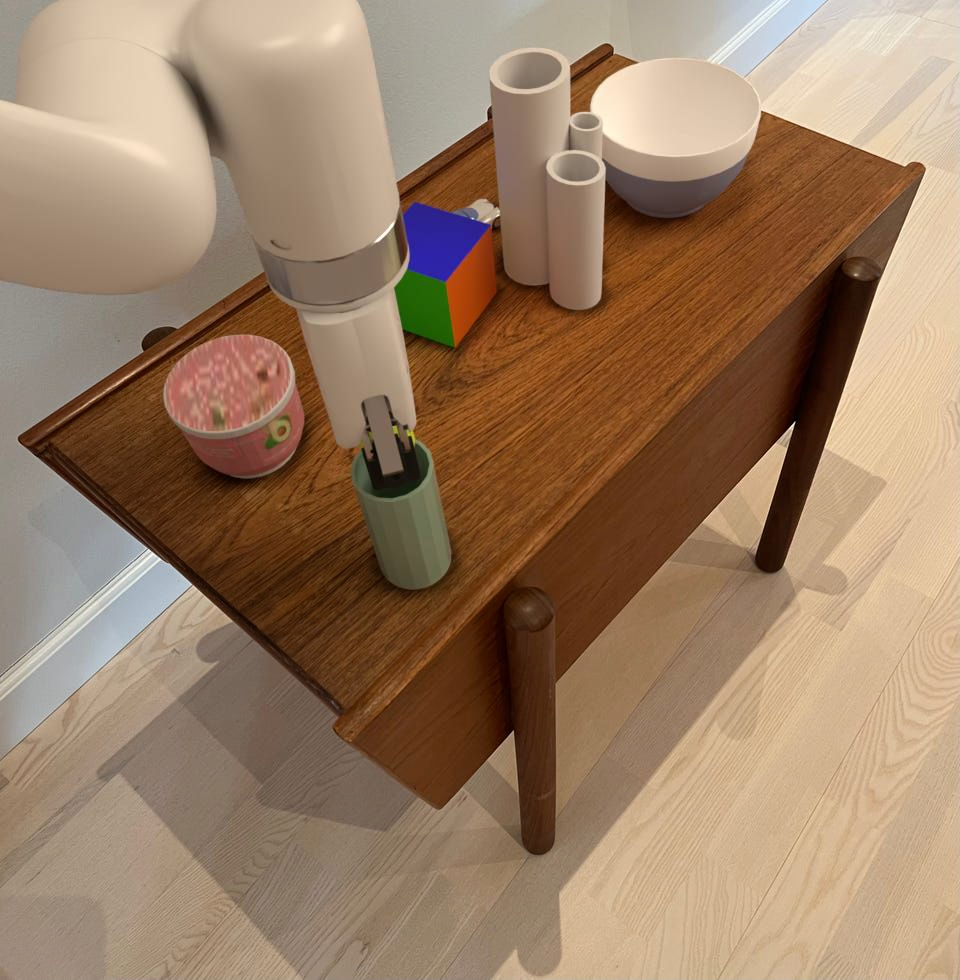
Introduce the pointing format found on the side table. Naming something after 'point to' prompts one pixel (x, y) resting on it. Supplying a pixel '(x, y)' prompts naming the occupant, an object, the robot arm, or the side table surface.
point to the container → (237, 404)
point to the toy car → (482, 212)
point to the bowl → (675, 132)
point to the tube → (406, 524)
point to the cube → (445, 274)
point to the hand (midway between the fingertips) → (390, 455)
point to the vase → (548, 178)
